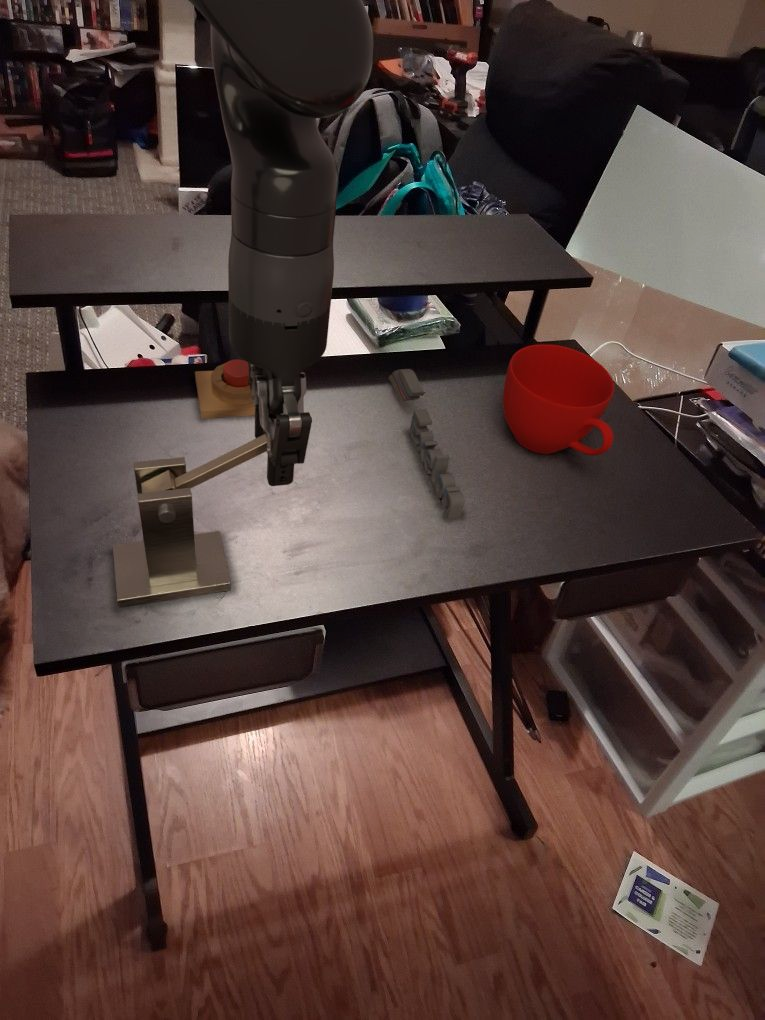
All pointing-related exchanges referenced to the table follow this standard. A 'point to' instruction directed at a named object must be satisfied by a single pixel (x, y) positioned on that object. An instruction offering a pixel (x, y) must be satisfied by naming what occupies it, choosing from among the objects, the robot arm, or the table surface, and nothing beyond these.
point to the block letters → (428, 444)
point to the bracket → (168, 546)
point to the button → (236, 373)
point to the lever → (208, 467)
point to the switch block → (222, 396)
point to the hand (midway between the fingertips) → (273, 460)
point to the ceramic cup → (556, 399)
